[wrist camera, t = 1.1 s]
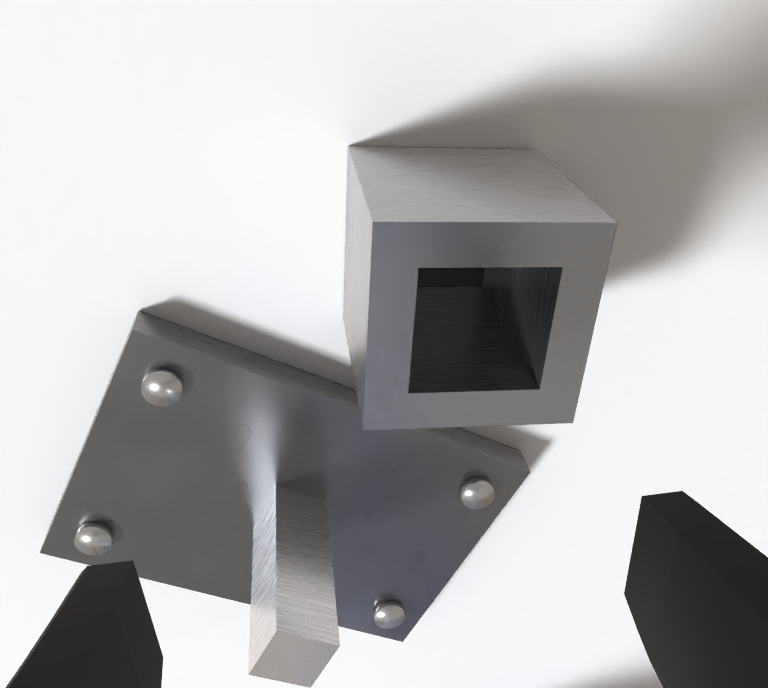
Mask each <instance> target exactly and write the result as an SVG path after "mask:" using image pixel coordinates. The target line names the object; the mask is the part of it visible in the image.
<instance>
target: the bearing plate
mask: <svg viewBox="0 0 768 688" xmlns="http://www.w3.org/2000/svg"><path fill="white" fill-rule="evenodd" d="M529 473H530V471H529V469H528V466H527V464H526V462H525V460H524V458H523V456H522V453H521V451H519V450H516V449H513V448H510V447H508V446H505V445H502V444H500V443H497V442H494V441H491V440H489V439H486V438H483V437H481V436H478V435H475V434H472V433H470V432H467V431H464V430H462V429H459V428H456V427H444V428H416V429H388V430H363V429H362V423H361V417H360V411H359V405H358V400H357V394H356V390H353V389H350V388H347V387H345V386H342V385H339V384H337V383H334V382H331V381H328V380H326V379H323V378H320V377H318V376H315V375H312V374H309V373H307V372H304V371H301V370H299V369H296V368H293V367H290V366H288V365H285V364H282V363H280V362H277V361H274V360H271V359H269V358H266V357H263V356H261V355H258V354H255V353H252V352H250V351H247V350H244V349H242V348H239V347H236V346H233V345H231V344H228V343H225V342H223V341H220V340H217V339H214V338H212V337H209V336H206V335H203V334H201V333H198V332H195V331H193V330H190V329H187V328H184V327H182V326H179V325H176V324H174V323H171V322H168V321H165V320H163V319H160V318H157V317H155V316H152V315H149V314H146V313H144V312H141V311H138V313H137V316H136V318H135V321H134V323H133V326H132V328H131V330H130V333H129V335H128V338H127V340H126V343H125V345H124V347H123V350H122V352H121V355H120V357H119V360H118V362H117V364H116V367H115V369H114V372H113V374H112V377H111V379H110V381H109V384H108V386H107V389H106V391H105V393H104V396H103V398H102V401H101V403H100V406H99V408H98V410H97V413H96V415H95V418H94V420H93V423H92V425H91V427H90V430H89V432H88V435H87V437H86V440H85V442H84V444H83V447H82V449H81V452H80V454H79V457H78V459H77V461H76V464H75V466H74V469H73V471H72V474H71V476H70V478H69V481H68V483H67V486H66V488H65V491H64V493H63V495H62V498H61V500H60V503H59V505H58V507H57V510H56V512H55V515H54V517H53V520H52V522H51V524H50V527H49V529H48V532H47V535H46V538H45V540H44V543H43V546H42V549H41V551H40V553H42V554H47V555H51V556H55V557H59V558H63V559H67V560H71V561H75V562H79V563H83V564H87V565H99V564H107V563H115V562H123V561H131V560H133V561H134V564H135V568H136V571H137V574H138V577H140V578H145V579H149V580H153V581H157V582H161V583H165V584H169V585H173V586H177V587H181V588H185V589H189V590H194V591H198V592H202V593H206V594H210V595H214V596H218V597H222V598H226V599H230V600H234V601H238V602H243V603H247V604H251V618H250V648H249V675H253V676H258V677H263V678H268V679H272V680H277V681H282V682H287V683H291V684H296V685H301V686H306V687H310V688H311V686H312V685H313V683H314V682H315V680H316V679H317V678H318V676H319V675H320V673H321V672H322V670H323V669H324V668H325V666H326V665H327V663H328V662H329V660H330V659H331V658H332V656H333V655H334V653H335V652H336V650H337V649H338V648H339V646H340V644H339V632H338V626H341V627H345V628H349V629H353V630H357V631H361V632H365V633H369V634H373V635H377V636H381V637H385V638H390V639H394V640H398V641H402V642H403V641H404V639H405V638H406V637H407V635H408V634H409V633H410V631H411V630H412V629H413V627H414V626H415V625H416V623H417V622H418V621H419V619H420V618H421V617H422V615H423V614H424V613H425V611H426V610H427V609H428V607H429V606H430V605H431V603H432V602H433V601H434V599H435V598H436V597H437V595H438V594H439V593H440V591H441V590H442V589H443V587H444V586H445V585H446V583H447V582H448V581H449V579H450V578H451V577H452V575H453V574H454V573H455V571H456V570H457V569H458V567H459V566H460V565H461V563H462V562H463V561H464V560H465V558H466V557H467V556H468V554H469V553H470V552H471V550H472V549H473V548H474V546H475V545H476V544H477V542H478V541H479V540H480V538H481V537H482V536H483V534H484V533H485V532H486V530H487V529H488V528H489V526H490V525H491V524H492V522H493V521H494V520H495V518H496V517H497V516H498V514H499V513H500V512H501V510H502V509H503V508H504V506H505V505H506V504H507V502H508V501H509V500H510V498H511V497H512V496H513V494H514V493H515V492H516V490H517V489H518V488H519V486H520V485H521V484H522V482H523V481H524V480H525V478H526V477H527V476H528V474H529Z"/></svg>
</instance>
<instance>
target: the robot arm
mask: <svg viewBox="0 0 768 688" xmlns="http://www.w3.org/2000/svg"><path fill="white" fill-rule="evenodd" d="M624 594H625V597H626V600H627V603H628V605H629V608H630V611H631V613H632V616H633V619H634V621H635V624H636V627H637V630H638V632H639V635H640V637H641V640H642V642H643V645H644V647H645V650H646V652H647V655H648V657H649V660H650V662H651V664H652V666H653V668H654V670H655V672H656V674H657V676H658V678H659V680H660V682H661V684H662V685H663V687H664V688H768V557H766V556H765V555H764V554H763V553H761V552H760V551H759V550H757V549H756V548H755V547H754V546H752V545H751V544H750V543H748V542H747V541H746V540H745V539H743V538H742V537H741V536H739V535H738V534H737V533H736V532H734V531H733V530H732V529H731V528H729V527H728V526H727V525H726V524H724V523H723V522H722V521H720V520H719V519H718V518H717V517H715V516H714V515H713V514H712V513H710V512H709V511H708V510H706V509H705V508H704V507H703V506H701V505H700V504H699V503H697V502H696V501H695V500H694V499H692V498H691V497H690V496H688V495H687V494H686V493H684V492H683V491H679V492H671V493H663V494H655V495H647V496H642V499H641V504H640V510H639V515H638V521H637V526H636V532H635V537H634V543H633V548H632V554H631V559H630V565H629V570H628V576H627V581H626V587H625V592H624ZM162 666H163V655H162V652H161V649H160V646H159V642H158V639H157V636H156V633H155V629H154V626H153V623H152V620H151V616H150V613H149V610H148V607H147V603H146V600H145V597H144V594H143V590H142V587H141V584H140V581H139V577H138V574H137V571H136V568H135V564H134V561H133V560H131V561H123V562H115V563H107V564H99V565H91V566H87V567H86V568H85V569H84V570H83V571H82V572H81V574H80V575H79V577H78V578H77V580H76V582H75V583H74V585H73V586H72V588H71V590H70V591H69V593H68V594H67V596H66V597H65V599H64V601H63V602H62V604H61V605H60V607H59V608H58V610H57V612H56V613H55V615H54V616H53V618H52V619H51V621H50V623H49V624H48V626H47V627H46V629H45V630H44V632H43V633H42V635H41V636H40V638H39V639H38V641H37V642H36V644H35V645H34V647H33V648H32V650H31V651H30V653H29V654H28V656H27V658H26V659H25V661H24V662H23V664H22V665H21V666H20V668H19V669H18V671H17V672H16V674H15V675H14V677H13V678H12V679H11V681H10V682H9V684H8V685H7V687H6V688H161V681H162Z"/></svg>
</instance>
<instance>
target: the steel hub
mask: <svg viewBox="0 0 768 688" xmlns="http://www.w3.org/2000/svg"><path fill="white" fill-rule="evenodd" d="M616 227H617V222H616V221H615V220H614V219H613V218H612V217H611V216H609V215H608V214H607V213H606V212H605V211H604V210H603V209H602V208H601V207H599V206H598V205H597V204H596V203H595V202H594V201H593V200H592V199H590V198H589V197H588V196H587V195H586V194H585V193H584V192H583V191H581V190H580V189H579V188H578V187H577V186H576V185H575V184H574V183H573V182H571V181H570V180H569V179H568V178H567V177H566V176H565V175H564V174H562V173H561V172H560V171H559V170H558V169H557V168H556V167H555V166H553V165H552V164H551V163H550V162H549V161H548V160H547V159H546V158H545V157H543V156H542V155H541V154H540V153H539V152H538V151H537V150H536V149H484V148H428V147H372V146H348V171H347V207H346V243H345V279H344V315H343V319H344V324H345V330H346V336H347V342H348V347H349V353H350V359H351V365H352V371H353V376H354V382H355V388H356V394H357V400H358V405H359V411H360V417H361V423H362V429H363V430H388V429H416V428H444V427H472V426H500V425H528V424H556V423H573V420H574V416H575V411H576V407H577V402H578V398H579V393H580V389H581V384H582V380H583V375H584V371H585V366H586V362H587V357H588V353H589V348H590V344H591V339H592V335H593V330H594V326H595V321H596V317H597V312H598V308H599V303H600V299H601V294H602V290H603V285H604V281H605V276H606V272H607V267H608V263H609V258H610V254H611V249H612V245H613V240H614V236H615V231H616ZM419 268H484V274H483V281H482V286H474V287H417V281H418V269H419Z"/></svg>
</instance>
